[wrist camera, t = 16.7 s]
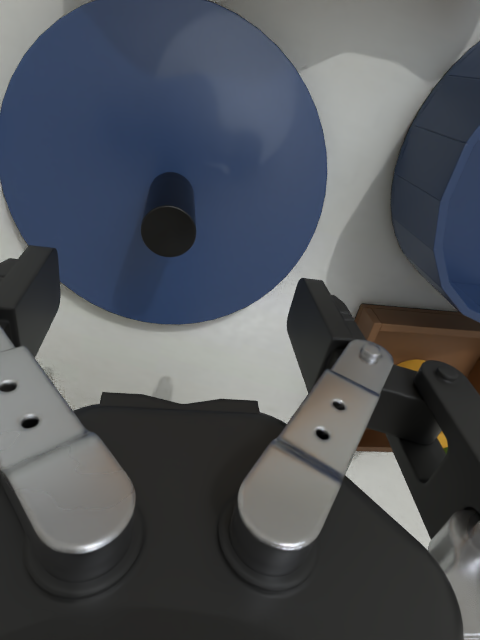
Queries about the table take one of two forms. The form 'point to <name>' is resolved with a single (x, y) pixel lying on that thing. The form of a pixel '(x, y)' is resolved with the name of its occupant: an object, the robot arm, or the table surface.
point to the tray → (420, 345)
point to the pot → (444, 187)
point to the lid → (162, 158)
